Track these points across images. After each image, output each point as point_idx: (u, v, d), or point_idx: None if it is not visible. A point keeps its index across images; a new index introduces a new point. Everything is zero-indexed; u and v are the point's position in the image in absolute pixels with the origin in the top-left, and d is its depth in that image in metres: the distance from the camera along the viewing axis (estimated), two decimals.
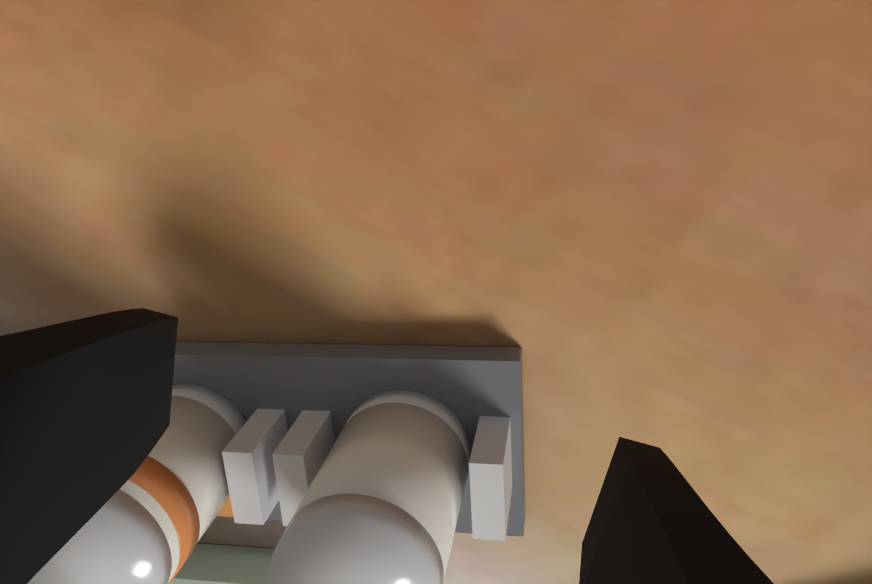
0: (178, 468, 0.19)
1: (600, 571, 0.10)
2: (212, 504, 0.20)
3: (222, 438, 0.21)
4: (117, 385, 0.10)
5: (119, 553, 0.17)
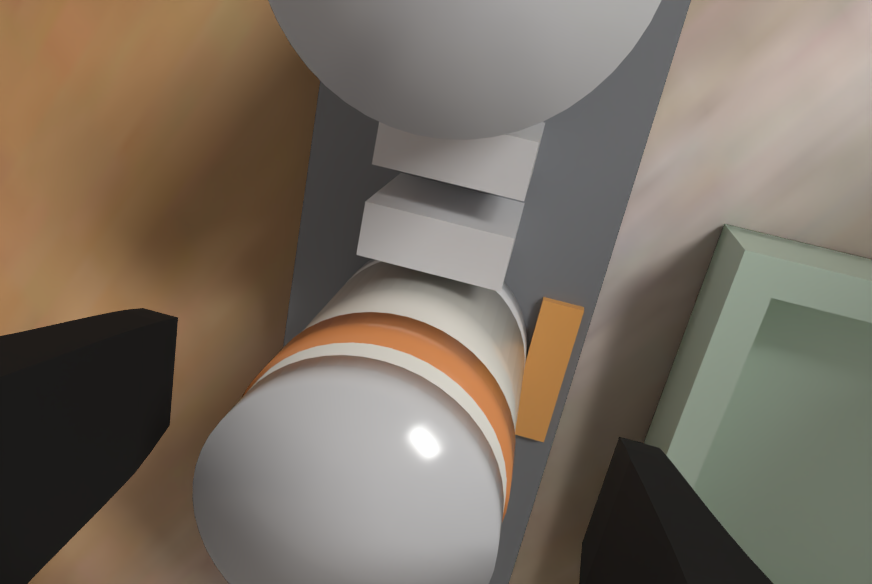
0: (325, 318, 0.11)
1: (600, 571, 0.10)
2: (434, 304, 0.11)
3: (382, 269, 0.13)
4: (117, 385, 0.10)
5: (316, 435, 0.09)
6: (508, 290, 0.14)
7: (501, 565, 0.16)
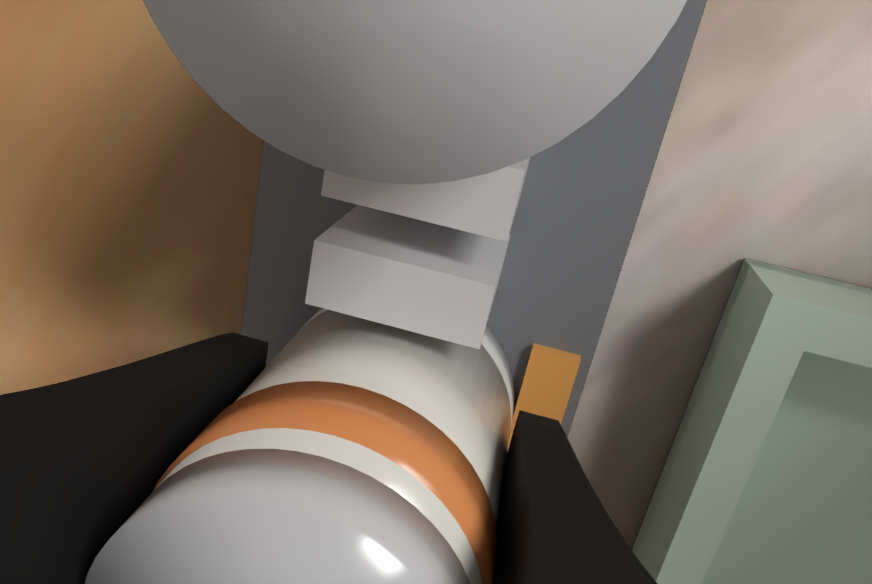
0: (262, 386, 0.09)
1: None
2: (397, 366, 0.09)
3: (340, 315, 0.11)
4: (218, 413, 0.10)
5: (232, 560, 0.07)
6: (492, 336, 0.12)
7: None
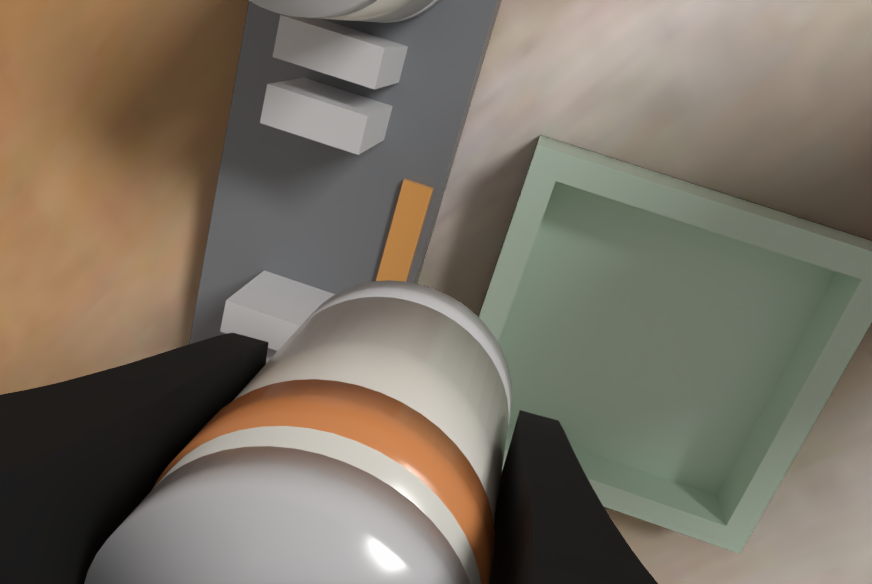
0: (261, 385, 0.09)
1: None
2: (394, 364, 0.09)
3: (338, 314, 0.11)
4: None
5: (231, 557, 0.07)
6: (489, 334, 0.12)
7: None
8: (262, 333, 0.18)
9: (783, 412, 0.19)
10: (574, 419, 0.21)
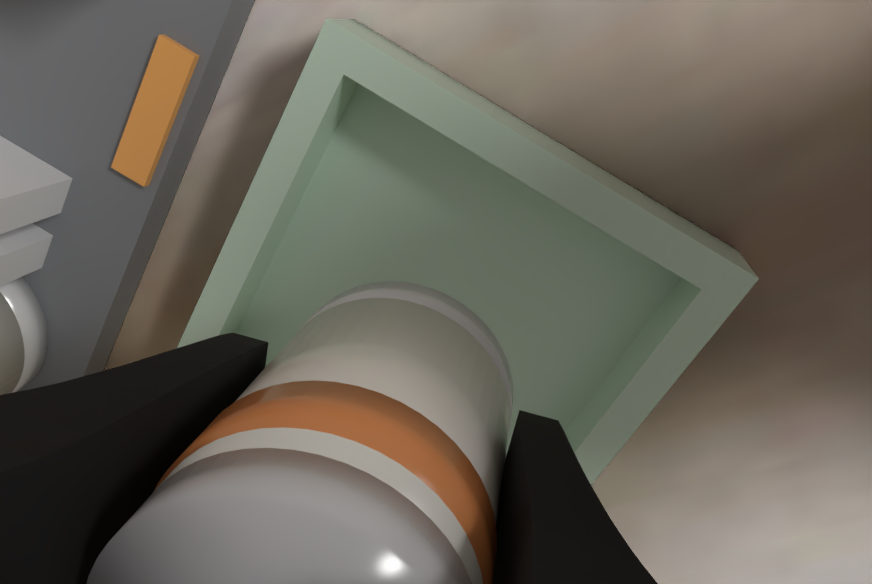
0: (260, 386, 0.09)
1: None
2: (394, 364, 0.09)
3: (337, 315, 0.11)
4: (218, 413, 0.10)
5: (231, 559, 0.07)
6: (489, 333, 0.12)
7: (95, 311, 0.17)
8: None
9: (581, 437, 0.15)
10: None
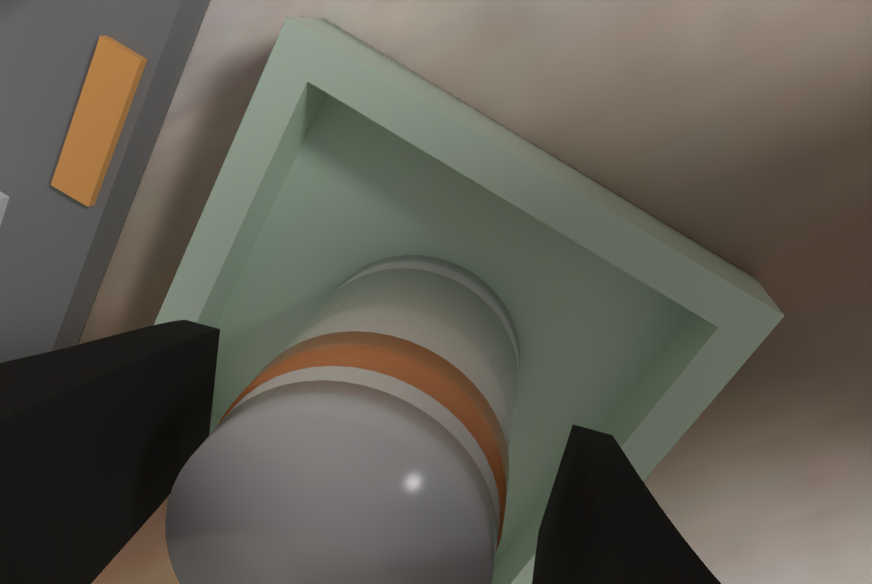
0: (304, 339, 0.10)
1: (550, 557, 0.10)
2: (419, 321, 0.11)
3: (365, 283, 0.12)
4: (164, 398, 0.10)
5: (294, 468, 0.08)
6: (498, 300, 0.13)
7: (39, 343, 0.15)
8: None
9: None
10: None
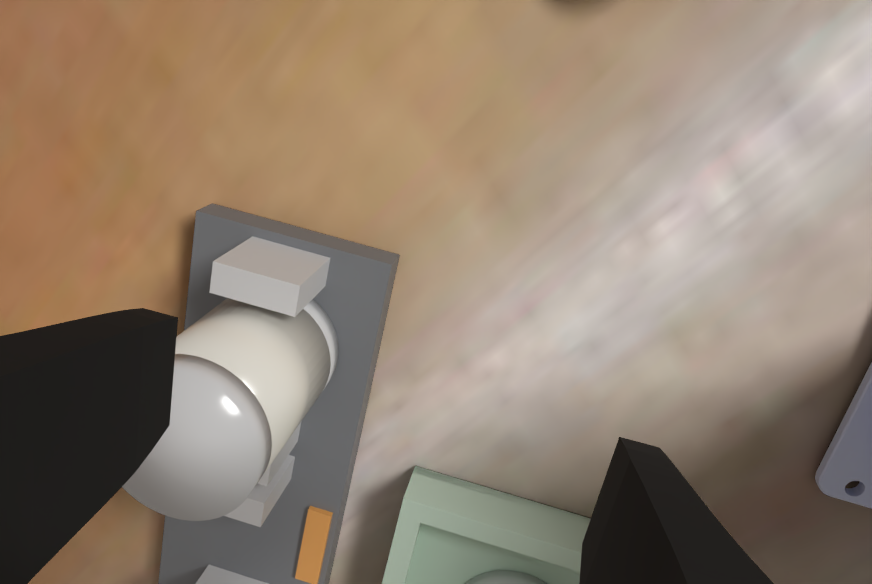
0: None
1: (600, 571, 0.10)
2: None
3: None
4: (117, 385, 0.10)
5: None
6: None
7: None
8: None
9: None
10: None
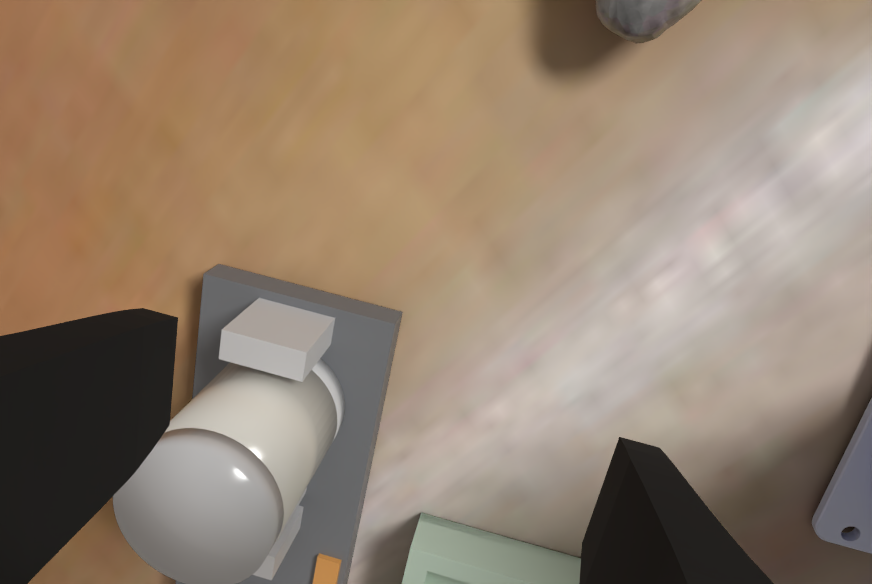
0: None
1: (600, 571, 0.10)
2: None
3: None
4: (117, 385, 0.10)
5: None
6: None
7: None
8: None
9: None
10: None
